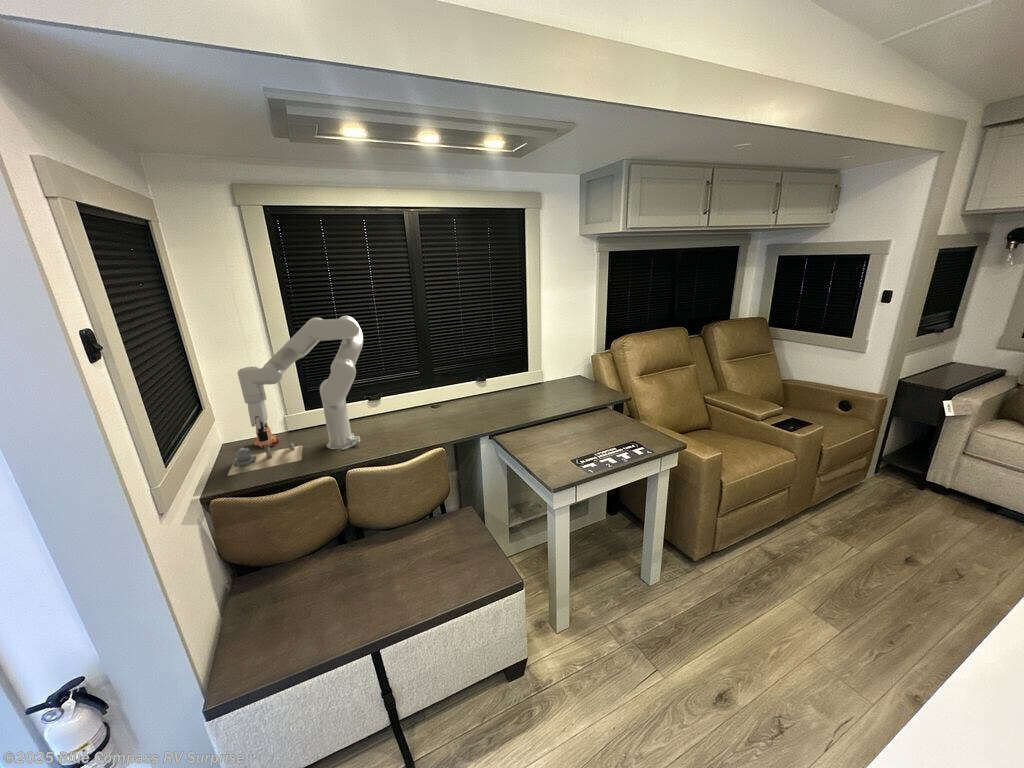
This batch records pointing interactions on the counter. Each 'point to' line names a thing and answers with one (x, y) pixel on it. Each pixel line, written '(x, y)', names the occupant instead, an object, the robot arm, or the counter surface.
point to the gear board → (271, 459)
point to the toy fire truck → (269, 444)
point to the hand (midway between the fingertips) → (264, 437)
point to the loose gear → (267, 442)
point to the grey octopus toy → (244, 458)
